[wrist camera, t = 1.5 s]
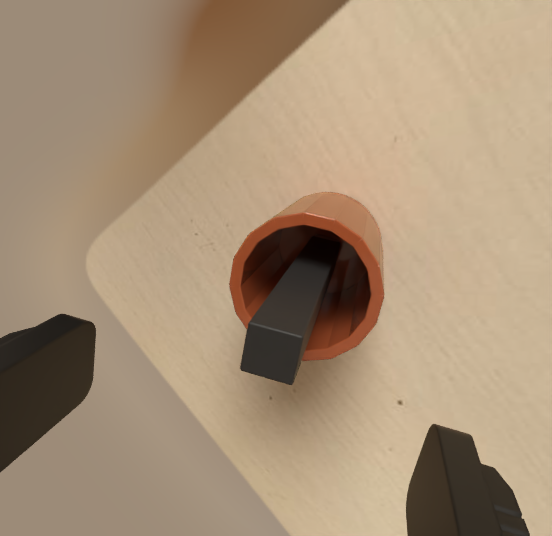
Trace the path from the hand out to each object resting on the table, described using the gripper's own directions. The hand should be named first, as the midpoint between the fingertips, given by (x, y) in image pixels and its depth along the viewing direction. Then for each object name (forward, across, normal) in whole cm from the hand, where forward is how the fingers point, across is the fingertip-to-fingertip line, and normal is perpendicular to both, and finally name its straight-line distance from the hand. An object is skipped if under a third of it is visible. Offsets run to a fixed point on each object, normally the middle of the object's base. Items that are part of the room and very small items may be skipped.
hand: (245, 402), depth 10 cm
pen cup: (+16, 0, 0) cm, 16 cm away
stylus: (+15, 0, 0) cm, 15 cm away
